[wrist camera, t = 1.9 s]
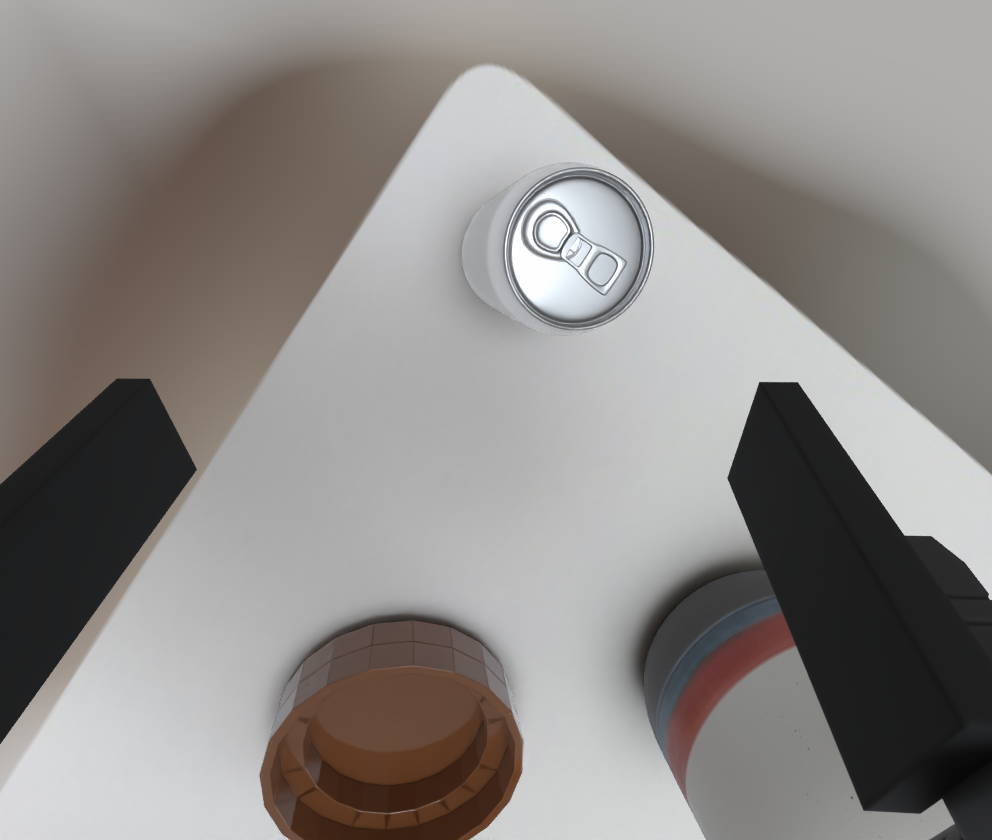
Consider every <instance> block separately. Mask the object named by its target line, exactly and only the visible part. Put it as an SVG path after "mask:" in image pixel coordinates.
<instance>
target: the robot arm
mask: <svg viewBox="0 0 992 840" xmlns="http://www.w3.org/2000/svg"><path fill="white" fill-rule="evenodd" d="M196 470H197V469H196V467H195V465H194V463H193V461H192V459H191V457H190V455H189V453H188V451H187V449H186V448H185V446H184V444H183V442H182V440H181V438H180V436H179V434H178V432H177V430H176V428H175V426H174V424H173V422H172V421H171V419H170V417H169V415H168V413H167V411H166V409H165V407H164V405H163V403H162V401H161V399H160V397H159V396H158V394H157V392H156V390H155V388H154V386H153V384H152V382H151V381H150V379H116V380H115V381H114V382H113V383H112V384H110V385H109V386H108V387H107V388H106V389H105V390H104V391H103V392H102V393H101V394H99V395H98V396H97V397H96V398H95V399H94V400H93V401H92V402H91V403H90V404H88V405H87V406H86V407H85V408H84V409H83V410H82V411H81V412H80V413H79V414H77V415H76V416H75V417H74V418H73V419H72V420H71V421H70V422H69V423H68V424H66V425H65V426H64V427H63V428H62V429H61V430H60V431H59V432H58V433H57V434H55V435H54V436H53V437H52V438H51V439H50V440H49V441H48V442H47V443H46V444H44V445H43V446H42V447H41V448H40V449H39V450H38V451H37V452H36V453H35V454H34V455H32V456H31V457H30V458H29V459H28V460H27V461H26V462H25V463H24V464H22V465H21V466H20V467H19V468H18V469H17V470H16V471H15V472H14V473H13V474H12V475H10V476H9V477H8V478H7V479H6V480H5V481H4V482H3V483H1V484H0V744H1V742H2V741H3V739H4V738H5V737H6V735H7V734H8V732H9V731H10V730H11V728H12V727H13V726H14V724H15V723H16V721H17V720H18V718H19V717H20V716H21V714H22V713H23V712H24V710H25V709H26V707H27V706H28V705H29V703H30V702H31V700H32V699H33V698H34V696H35V695H36V693H37V692H38V691H39V689H40V688H41V686H42V685H43V684H44V682H45V681H46V679H47V678H48V677H49V675H50V674H51V672H52V671H53V670H54V668H55V667H56V666H57V664H58V663H59V661H60V660H61V659H62V657H63V656H64V654H65V653H66V652H67V650H68V649H69V647H70V646H71V645H72V643H73V642H74V640H75V639H76V638H77V636H78V635H79V633H80V632H81V631H82V629H83V628H84V626H85V625H86V624H87V622H88V621H89V619H90V618H91V617H92V615H93V614H94V612H95V611H96V610H97V608H98V607H99V606H100V604H101V602H102V601H103V600H104V599H105V597H106V595H107V594H108V593H109V592H110V590H111V589H112V587H113V586H114V584H115V583H116V582H117V580H118V579H119V577H120V576H121V575H122V573H123V572H124V570H125V569H126V568H127V566H128V565H129V564H130V562H131V561H132V559H133V558H134V556H135V555H136V554H137V552H138V551H139V550H140V548H141V547H142V545H143V544H144V543H145V541H146V540H147V539H148V537H149V536H150V534H151V533H152V532H153V530H154V529H155V527H156V526H157V525H158V523H159V522H160V520H161V519H162V517H163V516H164V515H165V513H166V512H167V511H168V509H169V508H170V506H171V505H172V504H173V502H174V501H175V499H176V498H177V497H178V495H179V494H180V492H181V491H182V490H183V488H184V487H185V485H186V484H187V483H188V481H189V480H190V478H191V477H192V476H193V474H194V473H195V471H196ZM728 481H729V483H730V486H731V488H732V490H733V493H734V495H735V498H736V500H737V503H738V505H739V508H740V510H741V513H742V515H743V517H744V520H745V522H746V525H747V527H748V530H749V532H750V535H751V537H752V539H753V542H754V544H755V547H756V549H757V552H758V554H759V557H760V559H761V561H762V564H763V566H764V569H765V571H766V574H767V576H768V579H769V581H770V583H771V586H772V588H773V591H774V593H775V596H776V598H777V601H778V603H779V605H780V608H781V610H782V613H783V615H784V618H785V620H786V623H787V625H788V628H789V630H790V632H791V635H792V637H793V640H794V642H795V645H796V647H797V650H798V652H799V654H800V657H801V659H802V662H803V664H804V667H805V669H806V672H807V674H808V676H809V679H810V681H811V684H812V686H813V689H814V691H815V694H816V696H817V698H818V701H819V703H820V706H821V708H822V711H823V713H824V716H825V718H826V720H827V723H828V725H829V728H830V730H831V733H832V735H833V738H834V740H835V742H836V745H837V747H838V750H839V752H840V755H841V757H842V760H843V762H844V765H845V767H846V769H847V772H848V774H849V777H850V779H851V782H852V784H853V787H854V789H855V791H856V794H857V796H858V799H859V801H860V804H861V806H862V809H863V811H875V812H895V813H914V814H921V813H922V812H924V811H925V810H927V809H928V808H930V807H931V806H932V805H934V804H935V803H937V802H938V801H939V800H941V799H943V801H944V803H945V805H946V807H947V809H948V811H949V813H950V815H951V817H952V819H953V821H954V823H955V824H953V825H952V826H950V827H949V828H947V829H945V830H944V831H942V832H941V833H939V834H937V835H936V836H934V837H933V838H931V839H929V840H992V600H990V599H989V598H988V595H989V594H988V592H987V591H986V590H985V588H984V587H983V586H982V584H981V583H980V582H979V581H978V579H977V578H976V577H975V575H974V574H973V573H972V572H971V570H970V569H969V568H968V566H967V565H966V564H965V563H964V562H963V561H962V560H961V559H959V558H958V557H957V556H956V555H954V554H953V553H952V552H950V551H949V550H948V549H947V548H945V547H944V546H943V545H942V544H940V543H939V542H938V541H937V540H935V539H934V538H933V537H932V536H904V534H903V533H902V532H901V530H900V529H899V527H898V526H897V524H896V523H895V521H894V520H893V519H892V517H891V516H890V514H889V513H888V511H887V510H886V509H885V507H884V506H883V504H882V503H881V501H880V500H879V498H878V497H877V496H876V494H875V493H874V491H873V490H872V488H871V487H870V486H869V484H868V483H867V481H866V480H865V478H864V477H863V475H862V474H861V473H860V471H859V470H858V468H857V467H856V465H855V464H854V463H853V461H852V460H851V458H850V457H849V455H848V454H847V452H846V451H845V450H844V448H843V447H842V445H841V444H840V442H839V441H838V440H837V438H836V437H835V435H834V434H833V432H832V431H831V429H830V428H829V427H828V425H827V424H826V422H825V421H824V419H823V418H822V417H821V415H820V414H819V412H818V411H817V409H816V408H815V406H814V405H813V404H812V402H811V401H810V399H809V398H808V396H807V395H806V394H805V392H804V391H803V389H802V388H801V386H800V385H799V383H798V382H759V385H758V388H757V391H756V394H755V397H754V400H753V403H752V406H751V409H750V412H749V415H748V418H747V421H746V424H745V427H744V430H743V433H742V436H741V439H740V442H739V445H738V448H737V451H736V454H735V457H734V460H733V463H732V466H731V469H730V472H729V475H728Z"/></svg>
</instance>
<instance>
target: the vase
mask: <svg viewBox="0 0 992 840" xmlns="http://www.w3.org/2000/svg"><path fill="white" fill-rule="evenodd" d="M644 693H645V702H646V708H647V712H648V717H649V721H650V724H651V727H652V729H653V732H654V735H655V737H656V740H657V742H658V744H659V746H660V749H661V751H662V753H663V755H664V757H665V759H666V761H667V763H668V765H669V767H670V769H671V771H672V773H673V775H674V777H675V779H676V781H677V783H678V785H679V787H680V789H681V791H682V793H683V795H684V797H685V799H686V801H687V803H688V805H689V807H690V809H691V811H692V813H693V815H694V817H695V819H696V821H697V823H698V825H699V827H700V829H701V831H702V833H703V835H704V837H705V839H706V840H929V839H931V838H933V837H934V836H936V835H937V834H939V833H941V832H942V831H944V830H945V829H947V828H949V827H950V826H952V825H953V824H955V823H954V821H953V819H952V817H951V815H950V813H949V811H948V809H947V807H946V805H945V803H944V801H943V799H941V800H939V801H938V802H937V803H935V804H934V805H932V806H931V807H930V808H928V809H927V810H925V811H924V812H922V813H921V814H914V813H895V812H875V811H863V809H862V806H861V804H860V801H859V799H858V796H857V794H856V791H855V789H854V787H853V784H852V782H851V779H850V777H849V774H848V772H847V769H846V767H845V765H844V762H843V760H842V757H841V755H840V752H839V750H838V747H837V745H836V742H835V740H834V738H833V735H832V733H831V730H830V728H829V725H828V723H827V720H826V718H825V716H824V713H823V711H822V708H821V706H820V703H819V701H818V698H817V696H816V694H815V691H814V689H813V686H812V684H811V681H810V679H809V676H808V674H807V672H806V669H805V667H804V664H803V662H802V659H801V657H800V654H799V652H798V650H797V647H796V645H795V642H794V640H793V637H792V635H791V632H790V630H789V628H788V625H787V623H786V620H785V618H784V615H783V613H782V610H781V608H780V605H779V603H778V601H777V598H776V596H775V593H774V591H773V588H772V586H771V583H770V581H769V579H768V576H767V574H766V571H765V570H752V571H744V572H739V573H734V574H731V575H727V576H724V577H722V578H719V579H717V580H714V581H712V582H710V583H708V584H706V585H704V586H703V587H701V588H699V589H698V590H696V591H695V592H693V593H692V594H690V595H689V596H688V597H686V598H685V599H684V600H683V601H682V602H681V603H680V604H678V605H677V606H676V607H675V608H674V610H673V611H672V612H671V613H670V614H669V615H668V616H667V618H666V619H665V620H664V622H663V623H662V625H661V626H660V628H659V629H658V631H657V633H656V635H655V636H654V639H653V641H652V643H651V646H650V648H649V652H648V655H647V660H646V664H645V671H644Z"/></svg>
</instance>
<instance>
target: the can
mask: <svg viewBox="0 0 992 840" xmlns="http://www.w3.org/2000/svg"><path fill="white" fill-rule="evenodd" d="M653 254H654V236H653V229H652V225H651V221H650V218H649V215H648V212H647V210H646V208H645V206H644V204H643V202H642V201H641V199H640V198H639V196H638V195H637V194H636V193H635V191H634V190H633V189H632V188H631V187H630V186H629V185H628V184H627V183H625V182H624V181H623V180H621V179H620V178H618V177H617V176H615V175H613V174H611V173H609V172H606V171H603V170H601V169H598V168H596V167H593V166H590V165H586V164H581V163H558V164H553V165H549V166H545V167H542V168H540V169H537V170H535V171H533V172H531V173H529V174H527V175H526V176H524V177H522V178H521V179H519V180H518V181H517V182H515V183H514V184H512V185H511V186H509V187H508V188H507V189H505V190H504V191H502V192H501V193H500V194H498V195H497V196H496V197H494V198H493V199H491V200H490V201H489V202H488V203H486V204H485V205H484V206H483V207H481V208H480V209H479V210H478V212H477V213H476V214H475V215H474V217H473V218H472V220H471V222H470V224H469V226H468V228H467V230H466V233H465V236H464V240H463V244H462V265H463V270H464V273H465V276H466V278H467V281H468V283H469V285H470V286H471V288H472V289H473V291H474V292H475V293H476V294H477V296H478V297H479V298H480V299H481V300H483V301H484V302H485V303H486V304H488V305H489V306H491V307H492V308H494V309H496V310H497V311H499V312H501V313H503V314H504V315H506V316H508V317H510V318H512V319H513V320H515V321H517V322H519V323H521V324H523V325H525V326H527V327H529V328H531V329H533V330H536V331H539V332H542V333H546V334H551V335H576V334H581V333H585V332H588V331H591V330H593V329H595V328H597V327H599V326H602V325H604V324H606V323H608V322H610V321H612V320H614V319H615V318H617V317H618V316H620V315H621V314H622V313H623V312H625V311H626V310H627V309H628V308H629V307H630V306H631V305H632V303H633V302H634V301H635V300H636V298H637V297H638V296H639V294H640V293H641V291H642V289H643V287H644V285H645V283H646V281H647V279H648V276H649V273H650V270H651V266H652V261H653Z"/></svg>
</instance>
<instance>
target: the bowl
mask: <svg viewBox="0 0 992 840" xmlns="http://www.w3.org/2000/svg"><path fill="white" fill-rule="evenodd" d="M522 770H523V737H522V732H521V728H520V724H519V720H518V716H517V711H516V707H515V703H514V699H513V694H512V691H511V688H510V685H509V683H508V680H507V678H506V675H505V673H504V670H503V667H502V665H501V664H500V663H499V662H498V661H497V660H496V659H495V658H494V657H493V656H492V655H491V654H490V652H489V651H488V650H487V649H486V648H485V647H484V646H483V645H482V644H481V643H480V642H478V641H476V640H474V639H472V638H471V637H469V636H467V635H465V634H463V633H461V632H459V631H457V630H455V629H453V628H451V627H448V626H443V625H437V624H432V623H426V622H421V621H415V620H413V621H412V620H410V621H399V622H387V623H376V624H371V625H369V626H366V627H363V628H360V629H358V630H355V631H352V632H349V633H347V634H344V635H341V636H338V637H337V638H335V639H333V640H332V641H330V642H329V643H328V644H326V645H325V646H323V647H322V648H321V649H319V650H318V651H317V652H315V653H314V654H312V655H311V656H310V657H308V658H307V659H306V660H305V661H304V662H303V663H302V665H301V666H300V667H299V669H298V670H297V672H296V673H295V674H294V676H293V677H292V678H291V680H290V681H289V682H288V684H287V685H286V686H285V688H284V691H283V694H282V697H281V701H280V704H279V708H278V711H277V715H276V718H275V722H274V725H273V728H272V732H271V735H270V739H269V742H268V746H267V749H266V753H265V757H264V760H263V764H262V767H261V771H260V781H261V787H262V794H263V800H264V806H265V808H266V810H267V811H268V813H269V815H270V816H271V818H272V819H273V821H274V822H275V824H276V825H277V827H278V828H279V830H280V831H281V833H282V834H283V835H284V836H286V837H287V838H288V839H290V840H469V839H471V838H472V837H474V836H475V835H477V834H478V833H480V832H481V831H482V830H484V829H485V828H487V827H488V826H489V825H490V824H491V823H492V821H493V820H494V819H495V818H496V817H497V816H498V814H499V813H500V812H501V811H502V810H503V809H504V807H505V806H506V805H507V804H508V803H509V802H510V800H511V797H512V795H513V793H514V790H515V788H516V785H517V783H518V781H519V778H520V776H521V774H522Z"/></svg>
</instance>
